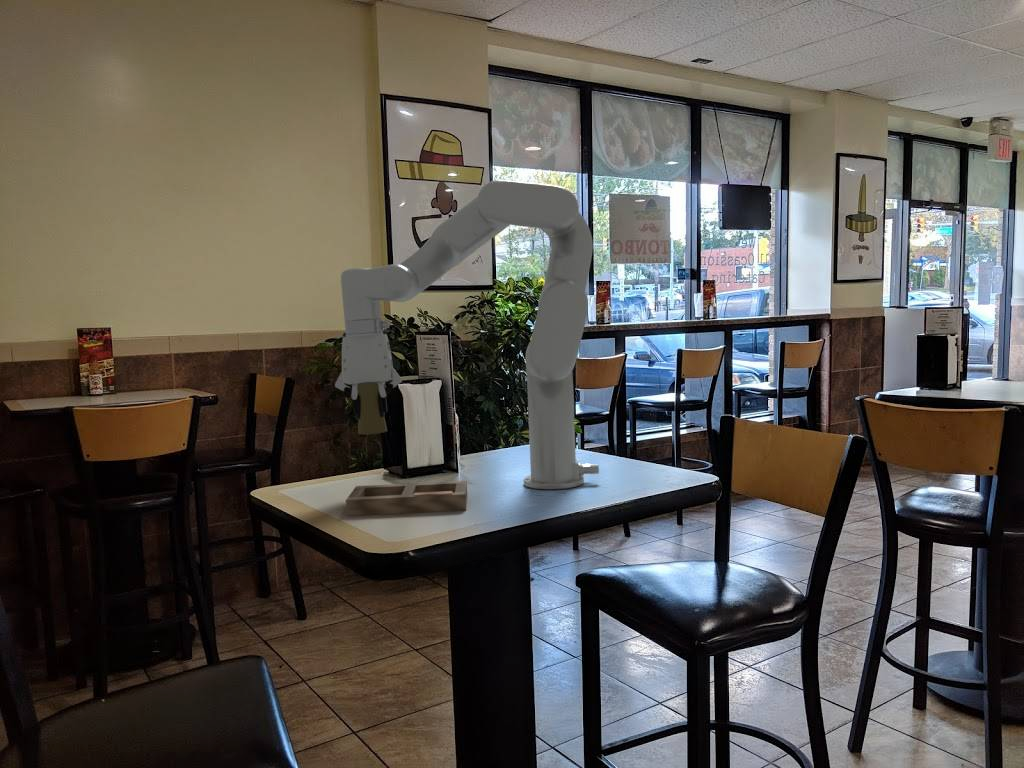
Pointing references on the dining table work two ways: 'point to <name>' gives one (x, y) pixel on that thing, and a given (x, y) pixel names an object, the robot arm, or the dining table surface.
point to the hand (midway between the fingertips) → (371, 416)
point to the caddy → (407, 498)
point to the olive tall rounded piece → (370, 409)
